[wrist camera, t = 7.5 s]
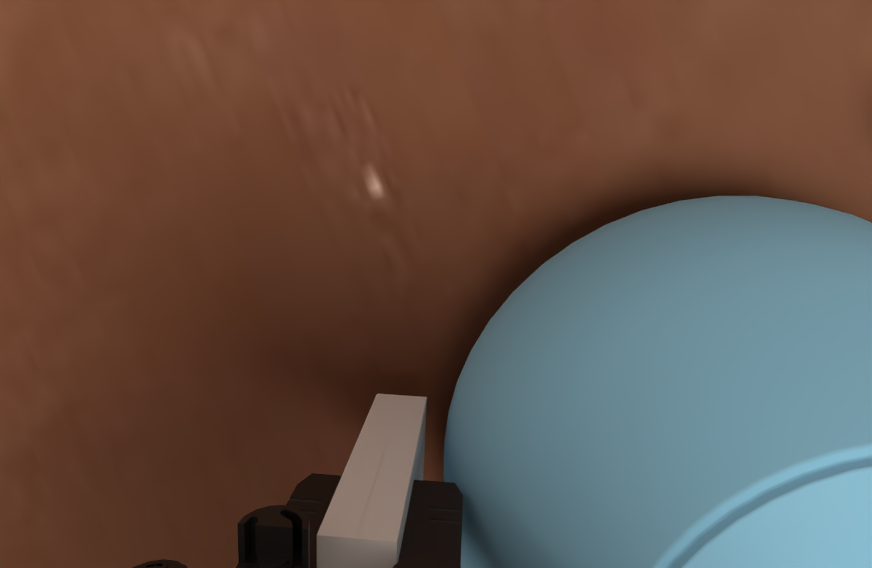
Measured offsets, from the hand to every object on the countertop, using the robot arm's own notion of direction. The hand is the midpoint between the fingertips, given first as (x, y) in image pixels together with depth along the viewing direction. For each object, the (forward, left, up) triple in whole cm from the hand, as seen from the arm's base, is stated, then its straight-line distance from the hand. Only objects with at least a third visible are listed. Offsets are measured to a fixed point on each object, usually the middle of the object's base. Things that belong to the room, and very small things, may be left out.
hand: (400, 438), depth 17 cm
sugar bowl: (+9, 0, -2) cm, 9 cm away
